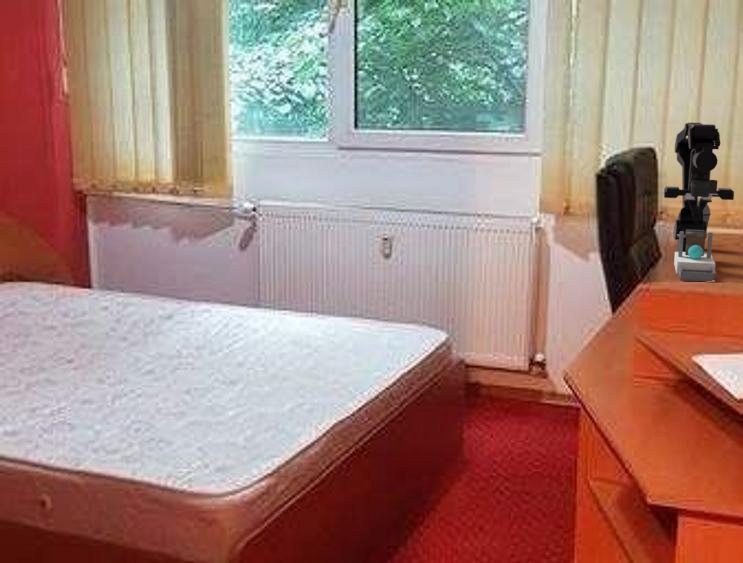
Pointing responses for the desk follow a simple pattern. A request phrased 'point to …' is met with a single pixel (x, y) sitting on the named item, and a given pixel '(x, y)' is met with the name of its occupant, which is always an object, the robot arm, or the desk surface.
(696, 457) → the desk surface
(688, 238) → the lever
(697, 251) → the ball
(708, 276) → the tray
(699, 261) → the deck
